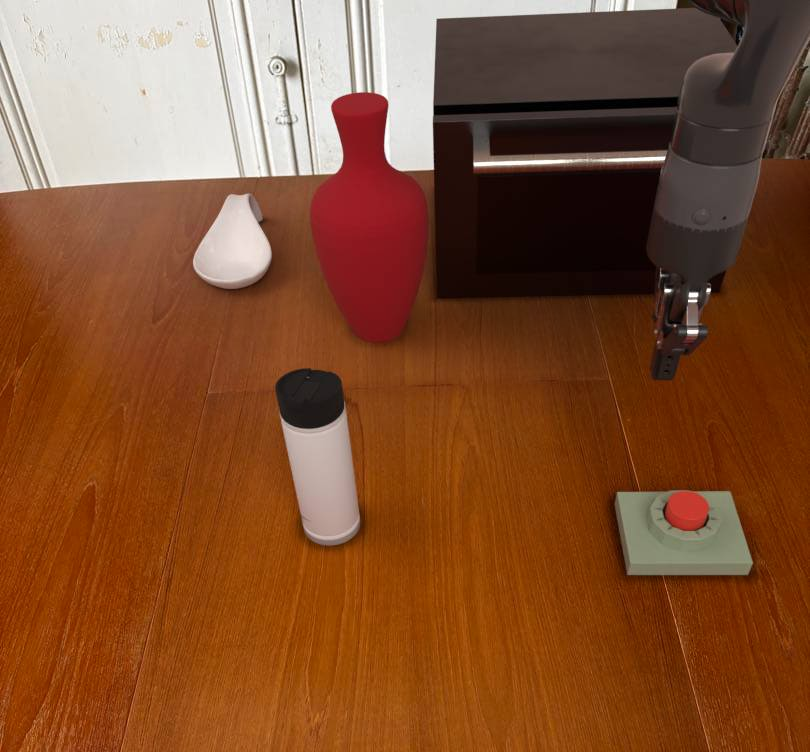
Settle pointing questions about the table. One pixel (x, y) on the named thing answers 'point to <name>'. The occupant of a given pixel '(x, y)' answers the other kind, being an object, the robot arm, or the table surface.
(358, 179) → the vase
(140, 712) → the table surface
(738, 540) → the timer box
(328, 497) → the travel mug
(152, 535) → the table surface
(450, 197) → the oven door
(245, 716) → the table surface
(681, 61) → the oven
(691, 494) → the button
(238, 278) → the spoon rest
